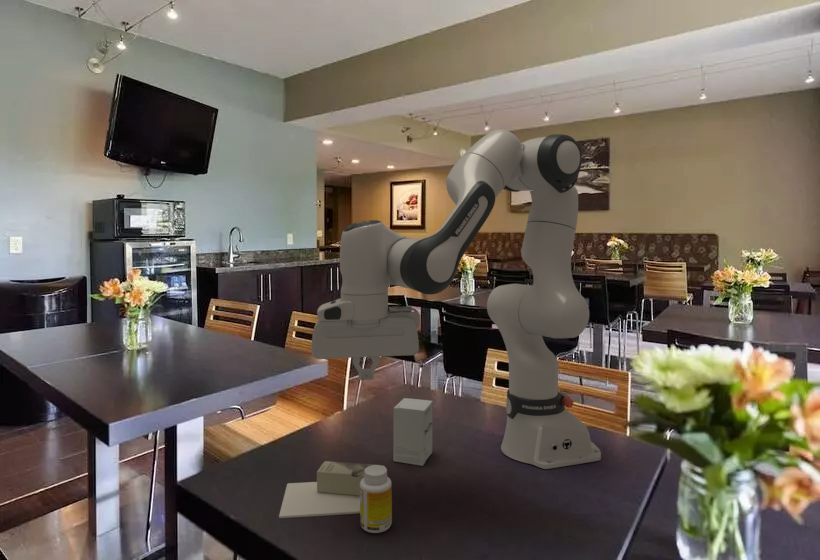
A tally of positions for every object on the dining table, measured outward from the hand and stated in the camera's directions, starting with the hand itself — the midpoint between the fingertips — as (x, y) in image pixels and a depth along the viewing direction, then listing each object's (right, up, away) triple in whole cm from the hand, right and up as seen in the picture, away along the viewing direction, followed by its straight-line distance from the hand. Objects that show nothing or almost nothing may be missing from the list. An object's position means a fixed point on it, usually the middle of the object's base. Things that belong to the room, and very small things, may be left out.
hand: (366, 379), depth 98 cm
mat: (-7, -23, +2) cm, 24 cm away
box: (+3, -21, +3) cm, 21 cm away
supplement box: (+9, -22, +19) cm, 31 cm away
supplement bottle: (+2, -25, -8) cm, 26 cm away
